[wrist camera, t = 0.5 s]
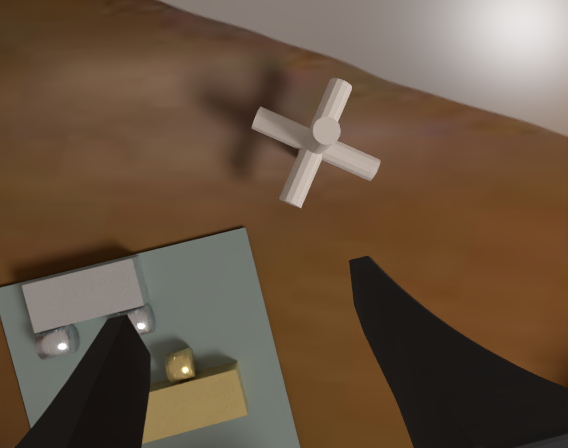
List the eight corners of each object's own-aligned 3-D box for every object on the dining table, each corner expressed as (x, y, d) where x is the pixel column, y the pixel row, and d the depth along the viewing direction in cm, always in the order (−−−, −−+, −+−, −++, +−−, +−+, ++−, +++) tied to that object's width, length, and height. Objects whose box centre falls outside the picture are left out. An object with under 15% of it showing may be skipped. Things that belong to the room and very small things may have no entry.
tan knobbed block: (148, 431, 36) (140, 446, 34) (129, 359, 36) (120, 370, 33) (248, 404, 36) (247, 417, 34) (230, 333, 36) (228, 342, 34)
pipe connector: (234, 183, 36) (224, 170, 26) (279, 79, 36) (286, 27, 26) (337, 227, 37) (366, 231, 27) (380, 125, 37) (425, 92, 27)
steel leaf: (54, 354, 35) (39, 364, 33) (35, 281, 35) (18, 286, 33) (157, 327, 36) (150, 336, 33) (139, 255, 36) (130, 258, 33)
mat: (304, 463, 37) (304, 465, 37) (61, 531, 36) (59, 533, 36) (245, 227, 36) (245, 227, 36) (-5, 288, 35) (-7, 289, 35)
